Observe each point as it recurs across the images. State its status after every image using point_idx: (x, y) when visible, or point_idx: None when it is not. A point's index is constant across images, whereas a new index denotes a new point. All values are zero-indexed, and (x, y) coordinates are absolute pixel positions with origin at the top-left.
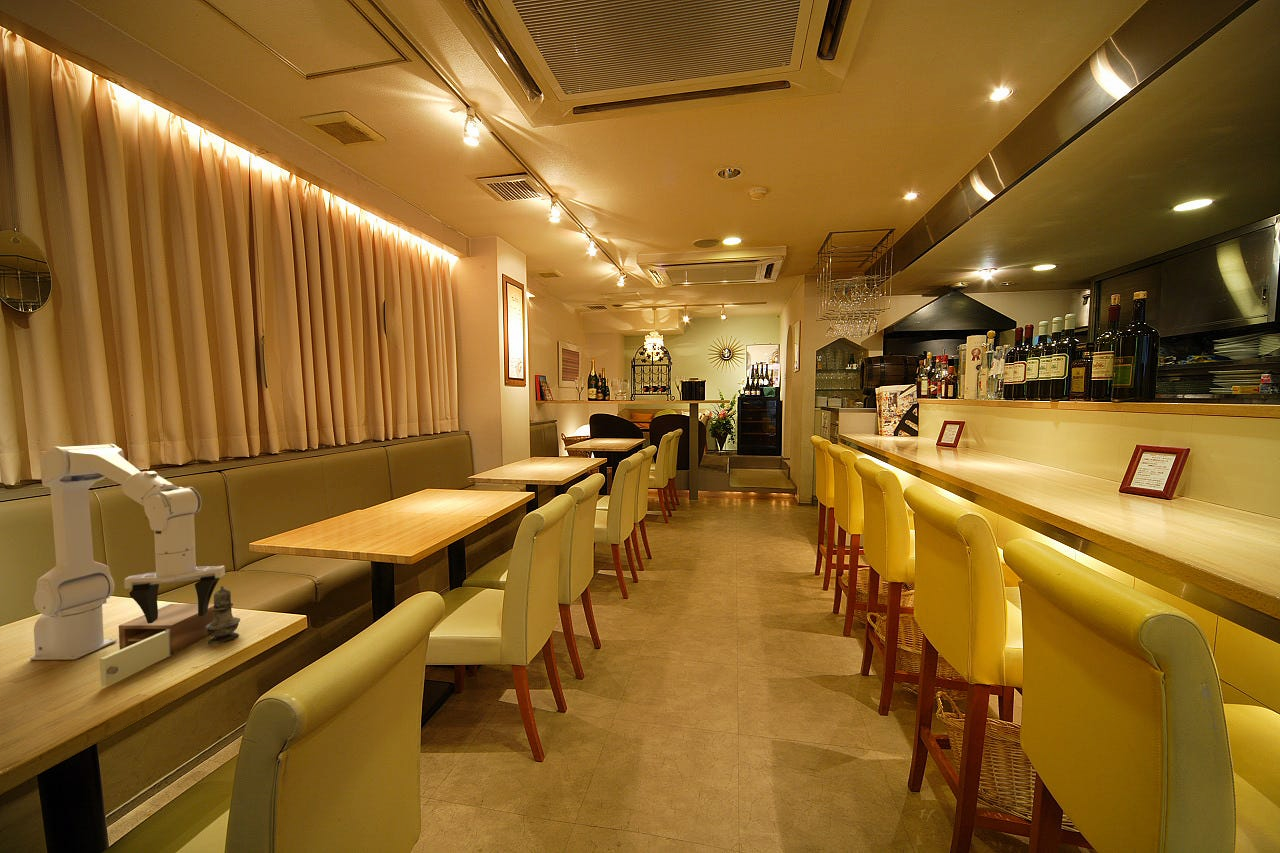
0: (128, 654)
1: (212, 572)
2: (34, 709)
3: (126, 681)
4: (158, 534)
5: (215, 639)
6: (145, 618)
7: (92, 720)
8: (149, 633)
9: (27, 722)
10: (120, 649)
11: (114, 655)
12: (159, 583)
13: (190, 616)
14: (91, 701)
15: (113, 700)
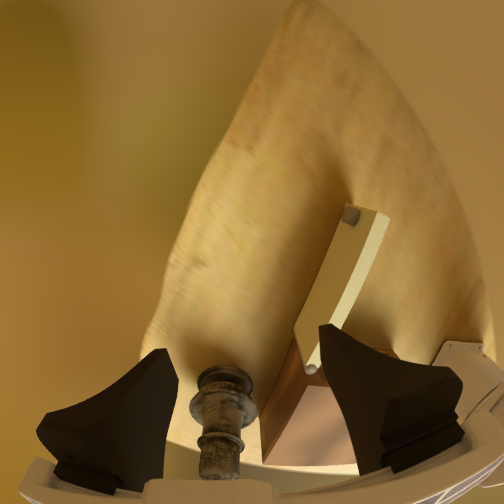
0: (347, 265)
1: (44, 489)
2: (417, 157)
3: (322, 228)
4: None
5: (234, 381)
6: None
7: (275, 66)
8: None
9: (394, 106)
10: (397, 357)
11: (366, 234)
12: (340, 484)
13: (288, 423)
14: (337, 149)
15: (291, 137)
